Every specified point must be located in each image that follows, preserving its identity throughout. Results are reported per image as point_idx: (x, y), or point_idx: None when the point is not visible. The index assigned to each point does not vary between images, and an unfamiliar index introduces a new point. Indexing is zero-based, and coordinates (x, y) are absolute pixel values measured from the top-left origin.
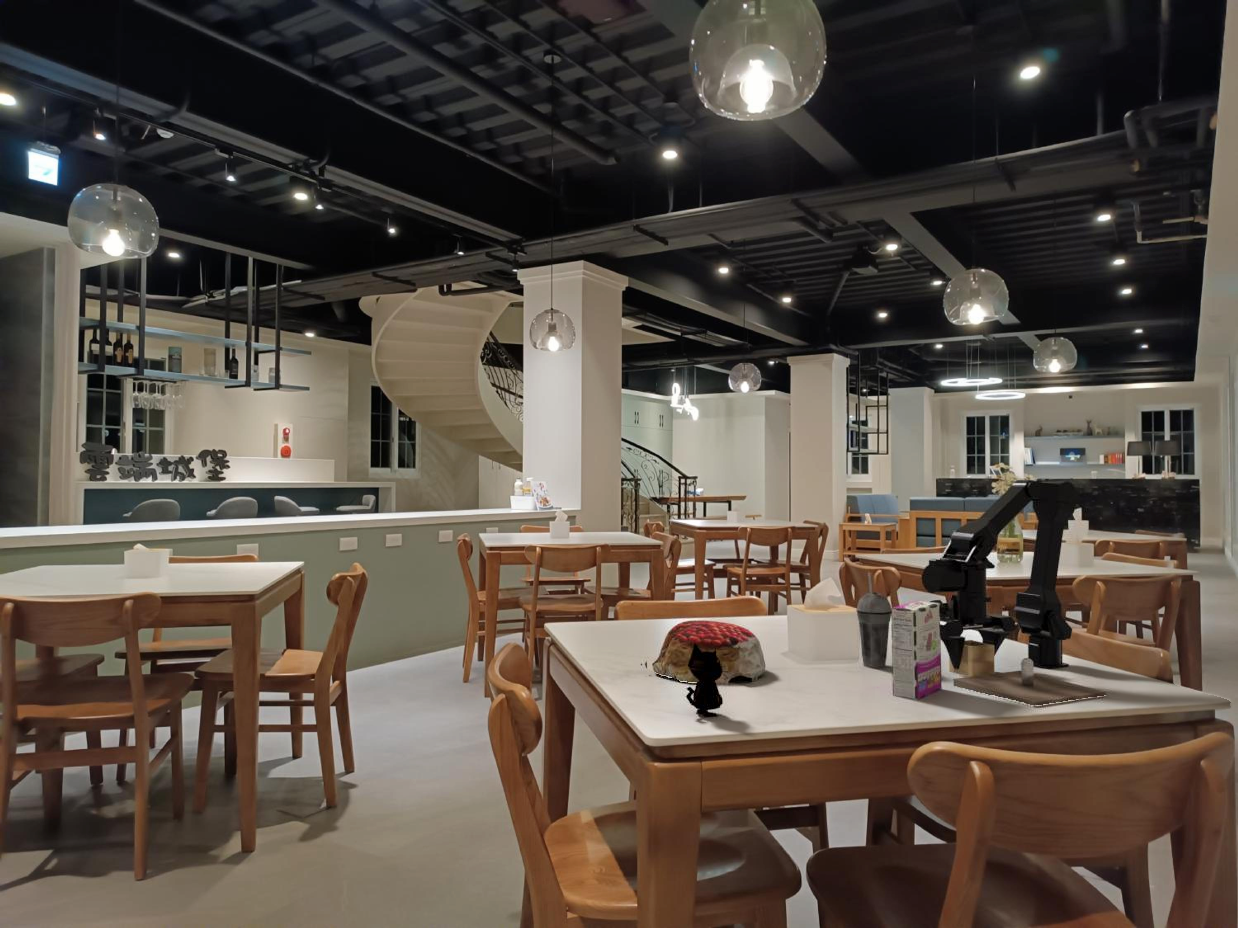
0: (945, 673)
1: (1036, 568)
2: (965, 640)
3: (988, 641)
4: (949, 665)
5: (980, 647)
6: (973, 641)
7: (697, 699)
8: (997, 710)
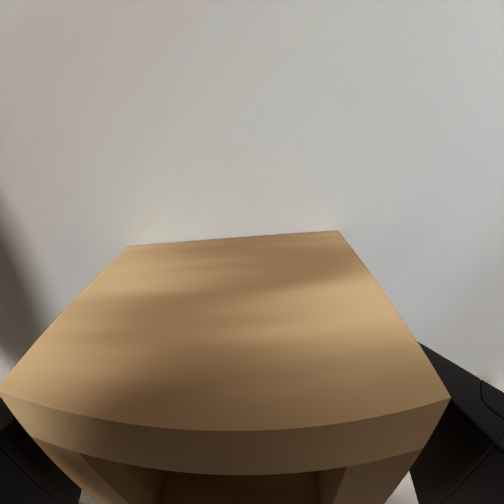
0: (79, 284)
1: None
2: (315, 426)
3: (454, 482)
4: (111, 262)
5: None
6: (362, 471)
7: None
8: (89, 499)
